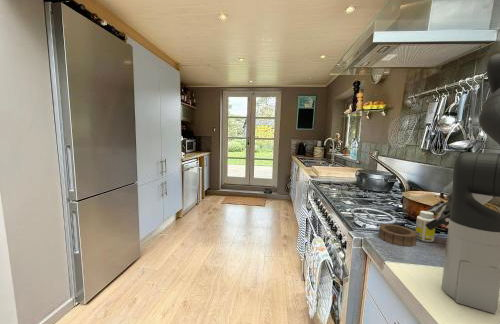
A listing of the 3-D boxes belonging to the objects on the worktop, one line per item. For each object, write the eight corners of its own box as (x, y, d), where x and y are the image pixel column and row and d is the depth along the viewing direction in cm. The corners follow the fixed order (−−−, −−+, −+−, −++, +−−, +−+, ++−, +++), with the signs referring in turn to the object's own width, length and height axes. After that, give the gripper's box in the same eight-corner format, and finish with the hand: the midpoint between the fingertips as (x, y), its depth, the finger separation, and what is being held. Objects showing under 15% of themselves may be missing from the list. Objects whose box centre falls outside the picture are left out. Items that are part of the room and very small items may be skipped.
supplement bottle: (435, 239, 82) (438, 213, 81) (431, 244, 78) (434, 215, 77) (417, 234, 86) (419, 209, 85) (412, 238, 83) (415, 211, 82)
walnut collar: (417, 249, 74) (418, 239, 73) (379, 241, 79) (379, 231, 79) (413, 237, 84) (413, 228, 83) (378, 230, 89) (379, 222, 89)
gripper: (451, 185, 83) (411, 210, 89) (469, 193, 70) (421, 221, 76) (468, 201, 82) (426, 225, 87) (489, 212, 69) (438, 239, 75)
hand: (423, 223), depth 82 cm, fingers open, 8 cm apart
